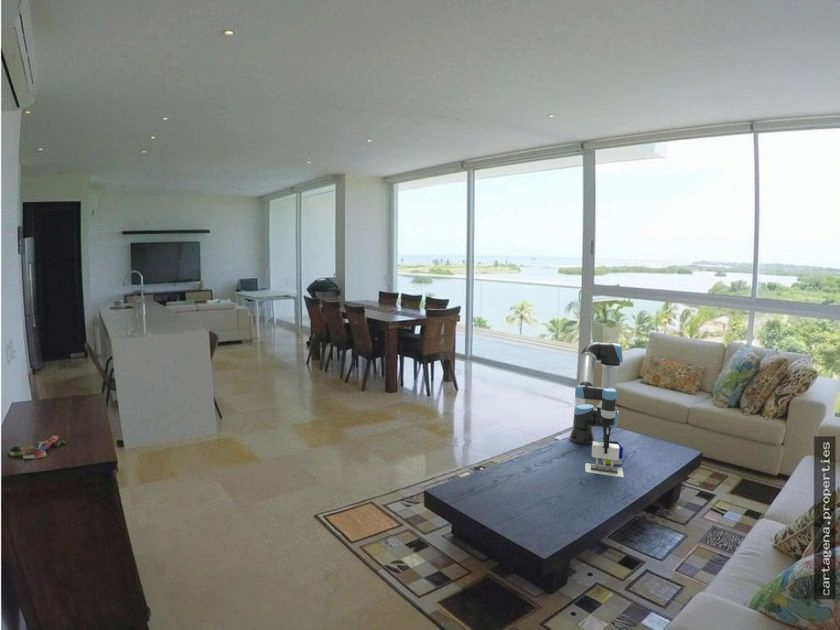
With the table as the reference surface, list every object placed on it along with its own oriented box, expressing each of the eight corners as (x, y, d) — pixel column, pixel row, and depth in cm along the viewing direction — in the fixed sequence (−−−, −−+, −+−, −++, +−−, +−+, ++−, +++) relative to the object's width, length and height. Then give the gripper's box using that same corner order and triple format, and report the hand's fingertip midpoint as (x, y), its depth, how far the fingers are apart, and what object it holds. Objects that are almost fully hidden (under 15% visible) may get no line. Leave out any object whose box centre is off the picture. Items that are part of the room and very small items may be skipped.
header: (585, 463, 303) (586, 452, 302) (622, 468, 297) (622, 457, 296) (585, 472, 292) (586, 461, 291) (623, 477, 286) (624, 466, 285)
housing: (591, 457, 292) (592, 445, 291) (591, 453, 298) (592, 441, 297) (618, 460, 288) (619, 448, 287) (617, 456, 294) (618, 444, 293)
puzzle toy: (621, 464, 304) (622, 447, 302) (604, 463, 304) (605, 447, 302) (615, 457, 313) (616, 441, 312) (598, 456, 314) (600, 440, 312)
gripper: (600, 410, 300) (597, 449, 303) (601, 421, 282) (598, 462, 285) (614, 412, 298) (611, 451, 301) (616, 422, 280) (613, 463, 283)
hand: (604, 456), depth 293 cm, fingers closed on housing, 6 cm apart
